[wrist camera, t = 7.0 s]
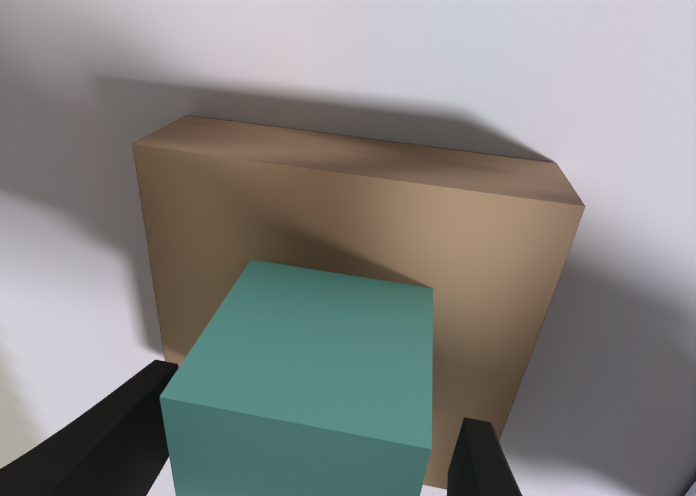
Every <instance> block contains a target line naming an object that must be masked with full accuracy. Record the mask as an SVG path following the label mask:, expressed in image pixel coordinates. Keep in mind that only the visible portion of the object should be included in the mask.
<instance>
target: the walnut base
mask: <svg viewBox="0 0 696 496" xmlns="http://www.w3.org/2000/svg"><path fill="white" fill-rule="evenodd" d="M133 151H134V158H135V164H136V171H137V178H138V184H139V191H140V198H141V204H142V211H143V217H144V224H145V231H146V237H147V244H148V251H149V257H150V264H151V271H152V277H153V284H154V291H155V297H156V304H157V311H158V317H159V324H160V331H161V337H162V344H163V351H164V357H165V362H171V363H176V364H178V367H180V365H181V364H182V362H183V361H184V359H185V358H186V356H187V355H188V353H189V352H190V350H191V349H192V347H193V346H194V344H195V343H196V341H197V340H198V338H199V337H200V335H201V334H202V332H203V331H204V329H205V328H206V326H207V325H208V323H209V322H210V320H211V319H212V317H213V316H214V314H215V313H216V311H217V310H218V308H219V307H220V305H221V304H222V302H223V301H224V299H225V298H226V296H227V295H228V293H229V292H230V290H231V289H232V287H233V286H234V284H235V283H236V281H237V280H238V278H239V277H240V275H241V274H242V272H243V271H244V269H245V268H246V266H247V265H248V263H249V262H250V260H257V261H263V262H269V263H276V264H282V265H288V266H295V267H301V268H307V269H314V270H320V271H326V272H332V273H339V274H345V275H351V276H358V277H364V278H370V279H377V280H383V281H389V282H396V283H402V284H408V285H414V286H421V287H427V288H433V366H432V450H431V454H430V458H429V462H428V465H427V469H426V473H425V477H424V481H423V484H422V485H427V486H432V487H437V488H442V489H447V482H448V469H449V466H450V462H451V459H452V456H453V452H454V449H455V446H456V442H457V439H458V436H459V432H460V429H461V426H462V422H463V419H464V417H466V418H471V419H477V420H482V421H487V422H490V423H491V424H492V425H493V426H494V429H495V432H496V435H497V437H498V440H500V437H501V435H502V432H503V429H504V426H505V424H506V421H507V418H508V416H509V413H510V410H511V407H512V405H513V402H514V399H515V397H516V394H517V391H518V388H519V386H520V383H521V380H522V377H523V375H524V372H525V369H526V367H527V364H528V361H529V358H530V356H531V353H532V350H533V348H534V345H535V342H536V339H537V337H538V334H539V331H540V329H541V326H542V323H543V320H544V318H545V315H546V312H547V310H548V307H549V304H550V301H551V299H552V296H553V293H554V290H555V288H556V285H557V282H558V280H559V277H560V274H561V271H562V269H563V266H564V263H565V261H566V258H567V255H568V252H569V250H570V247H571V244H572V242H573V239H574V236H575V233H576V231H577V228H578V225H579V223H580V220H581V217H582V214H583V212H584V209H585V205H584V204H583V202H582V201H581V199H580V198H579V196H578V195H577V193H576V192H575V190H574V189H573V187H572V186H571V184H570V183H569V181H568V180H567V178H566V177H565V175H564V174H563V172H562V171H561V169H560V168H559V166H558V165H557V163H552V162H544V161H536V160H528V159H521V158H513V157H505V156H497V155H490V154H482V153H474V152H467V151H459V150H451V149H443V148H436V147H428V146H420V145H413V144H405V143H397V142H389V141H382V140H374V139H366V138H358V137H351V136H343V135H335V134H328V133H320V132H312V131H304V130H297V129H289V128H281V127H273V126H266V125H258V124H250V123H243V122H235V121H227V120H219V119H212V118H204V117H196V116H188V115H186V116H184V117H183V118H181V119H179V120H177V121H175V122H173V123H171V124H169V125H168V126H166V127H164V128H162V129H160V130H158V131H156V132H154V133H153V134H151V135H149V136H147V137H145V138H143V139H141V140H139V141H138V142H136V143H134V144H133Z"/></svg>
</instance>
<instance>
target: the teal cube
mask: <svg viewBox="0 0 696 496" xmlns="http://www.w3.org/2000/svg"><path fill="white" fill-rule="evenodd" d="M432 366H433V288H427V287H421V286H414V285H408V284H402V283H396V282H389V281H383V280H377V279H370V278H364V277H358V276H351V275H345V274H339V273H332V272H326V271H320V270H314V269H307V268H301V267H295V266H288V265H282V264H276V263H269V262H263V261H257V260H250V262H249V263H248V265H247V266H246V268H245V269H244V271H243V272H242V274H241V275H240V277H239V278H238V280H237V281H236V283H235V284H234V286H233V287H232V289H231V290H230V292H229V293H228V295H227V296H226V298H225V299H224V301H223V302H222V304H221V305H220V307H219V308H218V310H217V311H216V313H215V314H214V316H213V317H212V319H211V320H210V322H209V323H208V325H207V326H206V328H205V329H204V331H203V332H202V334H201V335H200V337H199V338H198V340H197V341H196V343H195V344H194V346H193V347H192V349H191V350H190V352H189V353H188V355H187V356H186V358H185V359H184V361H183V362H182V364H181V365H180V367H179V368H178V370H177V371H176V373H175V374H174V376H173V377H172V379H171V380H170V382H169V383H168V385H167V386H166V388H165V389H164V391H163V392H162V394H161V395H160V403H161V409H162V415H163V421H164V427H165V433H166V439H167V445H168V451H169V457H170V463H171V469H172V475H173V481H174V487H175V493H176V496H420V492H421V488H422V484H423V481H424V477H425V473H426V469H427V465H428V462H429V458H430V454H431V450H432Z"/></svg>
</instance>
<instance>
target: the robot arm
mask: <svg viewBox="0 0 696 496" xmlns="http://www.w3.org/2000/svg"><path fill="white" fill-rule="evenodd" d="M178 368H179V367H178V364H176V363H171V362H165V361H160V360H154V361H153V362H152V363H150V364H149V365H148V366H146V367H145V368H144V369H142V370H141V371H140V372H138V373H137V374H136V375H134V376H133V377H132V378H130V379H129V380H128V381H127V382H125V383H124V384H123V385H121V386H120V387H119V388H117V389H116V390H115V391H113V392H112V393H111V394H109V395H108V396H107V397H105V398H104V399H103V400H101V401H100V402H99V403H97V404H96V405H95V406H93V407H92V408H91V409H89V410H88V411H86V412H85V413H84V414H82V415H81V416H80V417H78V418H77V419H75V420H74V421H73V422H71V423H70V424H68V425H67V426H66V427H64V428H63V429H61V430H60V431H58V432H57V433H55V434H54V435H52V436H51V437H49V438H48V439H46V440H45V441H43V442H42V443H40V444H39V445H38V446H36V447H35V448H33V449H32V450H30V451H28V452H27V453H25V454H24V455H22V456H21V457H19V458H18V459H16V460H14V461H13V462H11V463H10V464H8V465H6V466H5V467H3V468H1V469H0V496H146V495H147V493H148V492H149V490H150V488H151V487H152V485H153V483H154V482H155V480H156V478H157V476H158V475H159V473H160V471H161V470H162V468H163V466H164V464H165V463H166V461H167V459H168V457H169V451H168V445H167V439H166V433H165V427H164V421H163V415H162V409H161V403H160V395H161V394H162V392H163V391H164V389H165V388H166V386H167V385H168V383H169V382H170V380H171V379H172V377H173V376H174V374H175V373H176V371H177V370H178ZM447 496H522V494H521V492H520V490H519V487H518V485H517V483H516V481H515V479H514V476H513V474H512V472H511V469H510V467H509V465H508V462H507V460H506V458H505V455H504V453H503V450H502V448H501V445H500V443H499V440H498V437H497V435H496V432H495V429H494V426H493V425H492V424H491V423H490V422H487V421H482V420H477V419H471V418H466V417H464V419H463V422H462V426H461V429H460V432H459V436H458V439H457V442H456V446H455V449H454V452H453V456H452V459H451V462H450V466H449V469H448V482H447ZM685 496H696V481H695V482H694V484H693V485H692V487H691V488H690V489H689V491H688V492H687V493H686V495H685Z"/></svg>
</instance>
